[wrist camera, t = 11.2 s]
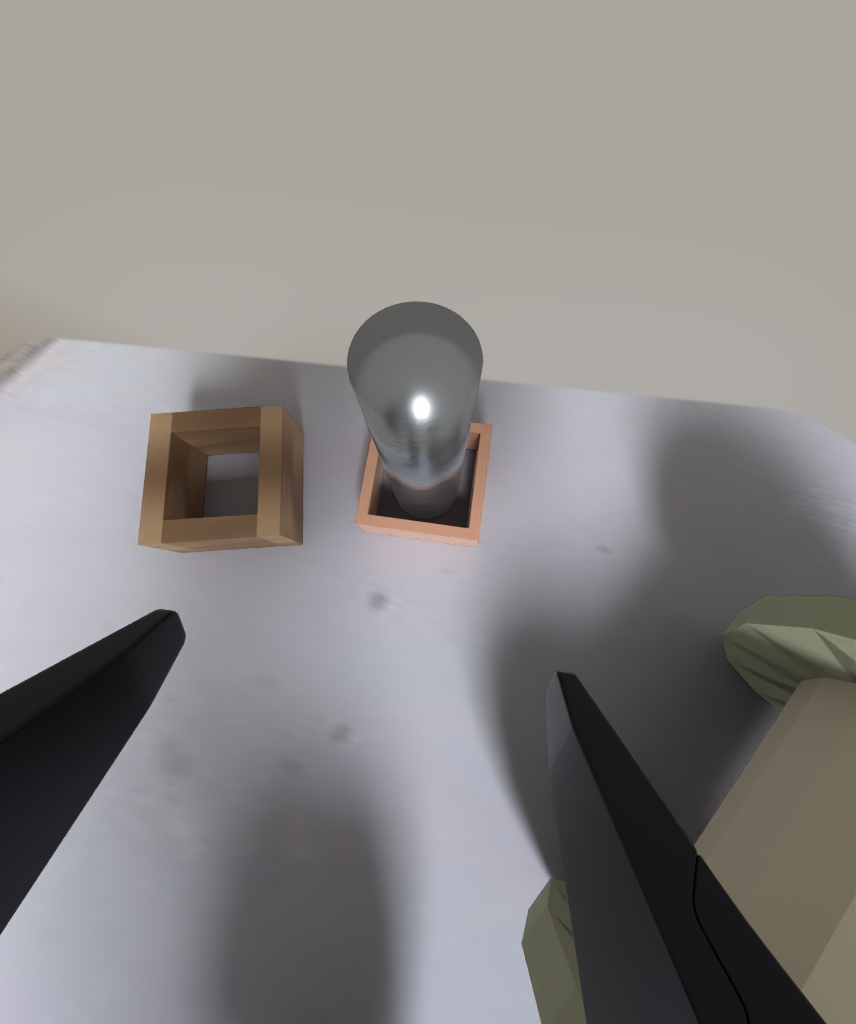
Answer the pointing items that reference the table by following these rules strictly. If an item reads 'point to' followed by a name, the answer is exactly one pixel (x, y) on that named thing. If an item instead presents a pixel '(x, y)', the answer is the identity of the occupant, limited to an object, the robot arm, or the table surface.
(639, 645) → the table surface
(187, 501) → the wooden square frame
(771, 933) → the spool
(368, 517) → the socket block
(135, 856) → the table surface
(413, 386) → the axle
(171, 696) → the table surface
